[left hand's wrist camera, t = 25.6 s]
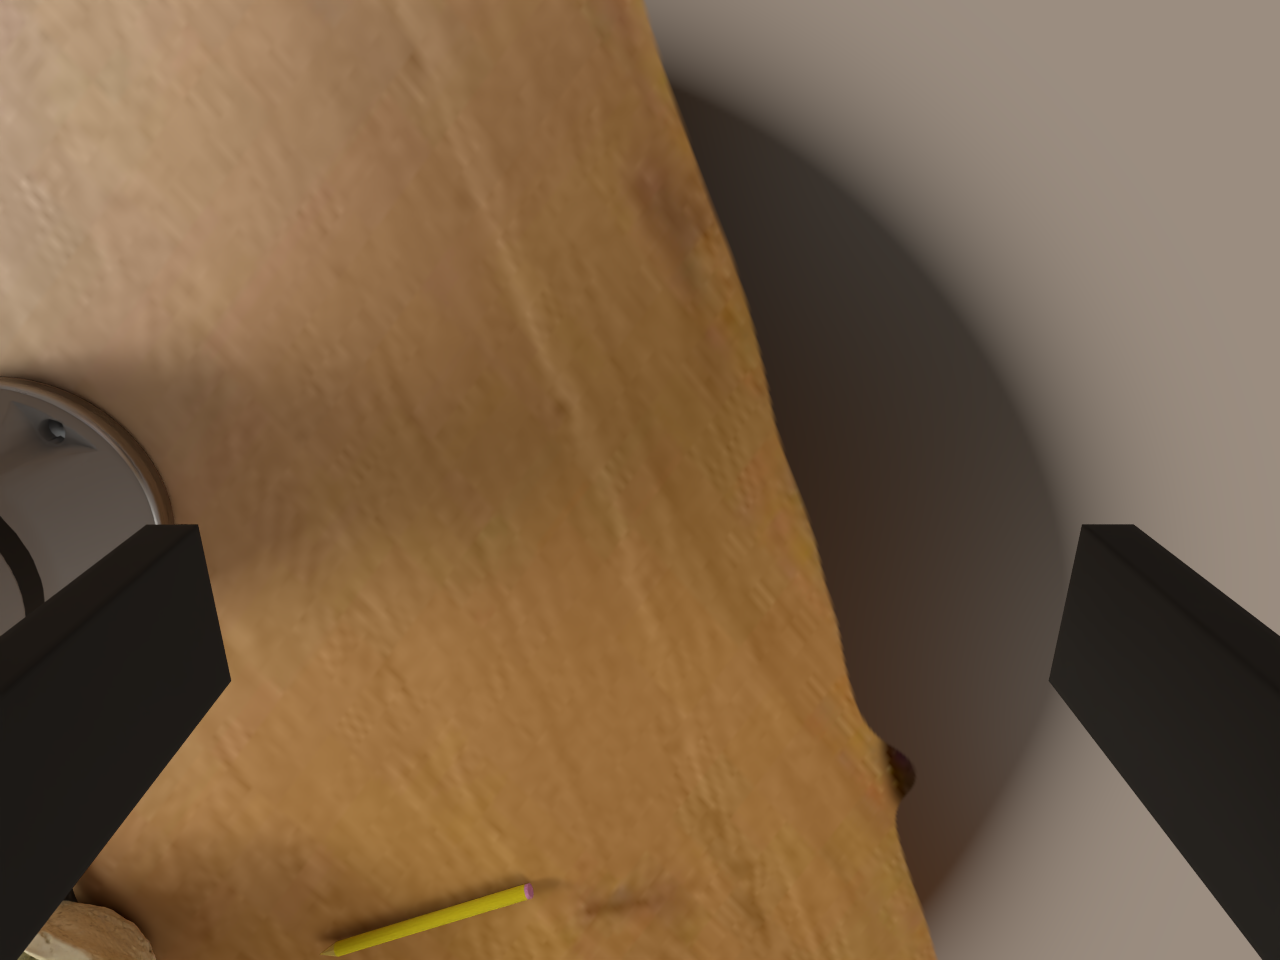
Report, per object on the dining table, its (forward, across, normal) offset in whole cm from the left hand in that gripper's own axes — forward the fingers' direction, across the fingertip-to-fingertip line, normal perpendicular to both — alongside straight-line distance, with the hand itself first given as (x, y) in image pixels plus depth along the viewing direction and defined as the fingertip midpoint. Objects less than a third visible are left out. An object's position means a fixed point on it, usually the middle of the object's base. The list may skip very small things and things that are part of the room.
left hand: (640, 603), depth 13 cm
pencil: (+33, +15, +44) cm, 57 cm away
